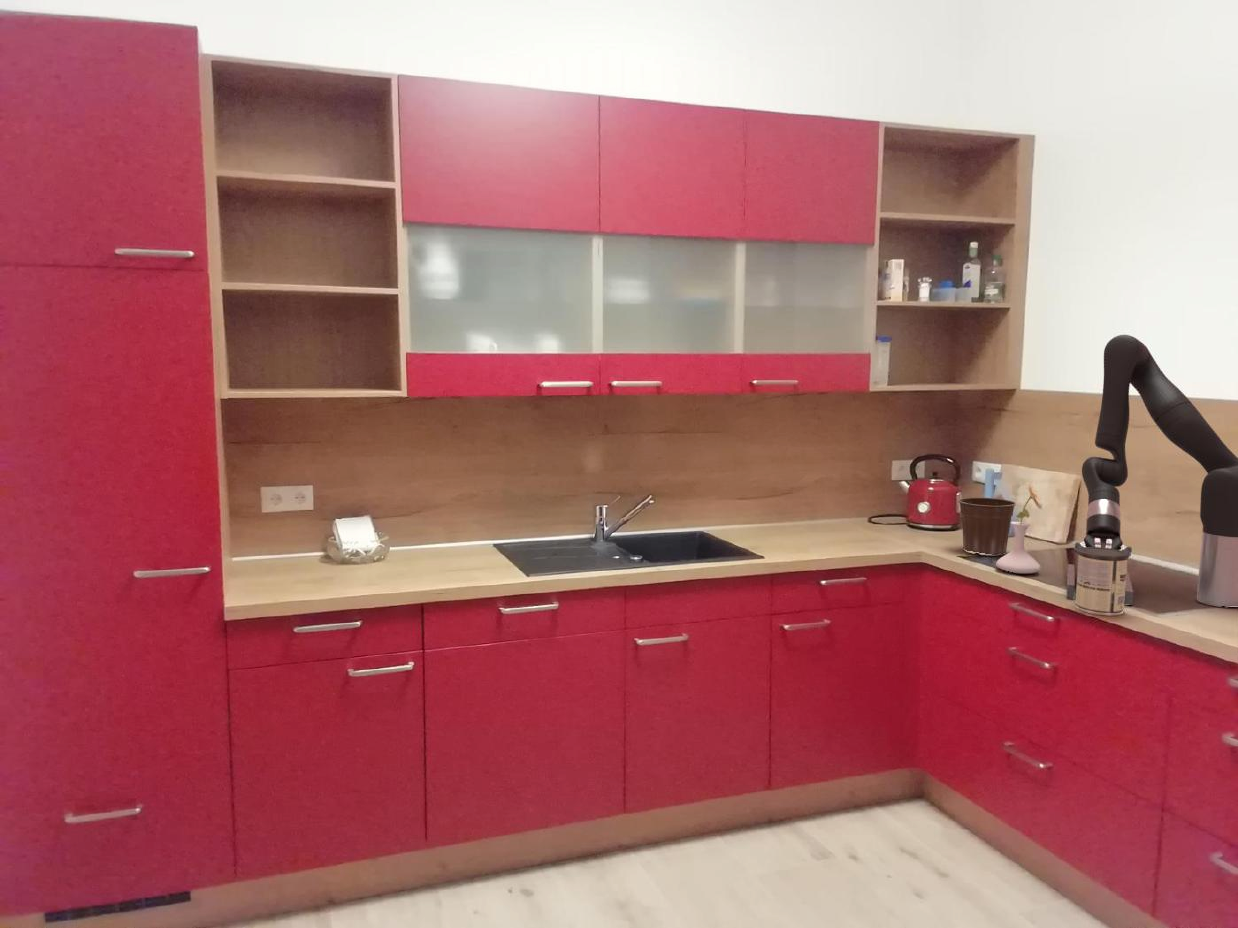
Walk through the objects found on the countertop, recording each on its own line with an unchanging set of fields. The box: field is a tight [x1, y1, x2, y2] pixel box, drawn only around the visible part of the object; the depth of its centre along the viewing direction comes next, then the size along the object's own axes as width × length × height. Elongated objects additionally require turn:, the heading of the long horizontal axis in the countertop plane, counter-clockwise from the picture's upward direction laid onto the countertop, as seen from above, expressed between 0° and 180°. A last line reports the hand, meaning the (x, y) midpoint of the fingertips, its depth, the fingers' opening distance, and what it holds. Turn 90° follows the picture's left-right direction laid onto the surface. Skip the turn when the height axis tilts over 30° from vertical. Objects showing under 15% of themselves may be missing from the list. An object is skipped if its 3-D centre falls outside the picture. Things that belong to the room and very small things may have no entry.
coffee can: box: [1074, 546, 1130, 617], centre depth 203 cm, size 10×10×14 cm
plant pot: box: [957, 497, 1017, 555], centre depth 266 cm, size 16×16×16 cm
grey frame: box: [1066, 563, 1135, 606], centre depth 222 cm, size 14×26×4 cm, turn 152°
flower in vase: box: [995, 482, 1044, 575], centre depth 241 cm, size 13×11×25 cm
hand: (1102, 578), depth 209 cm, fingers closed
